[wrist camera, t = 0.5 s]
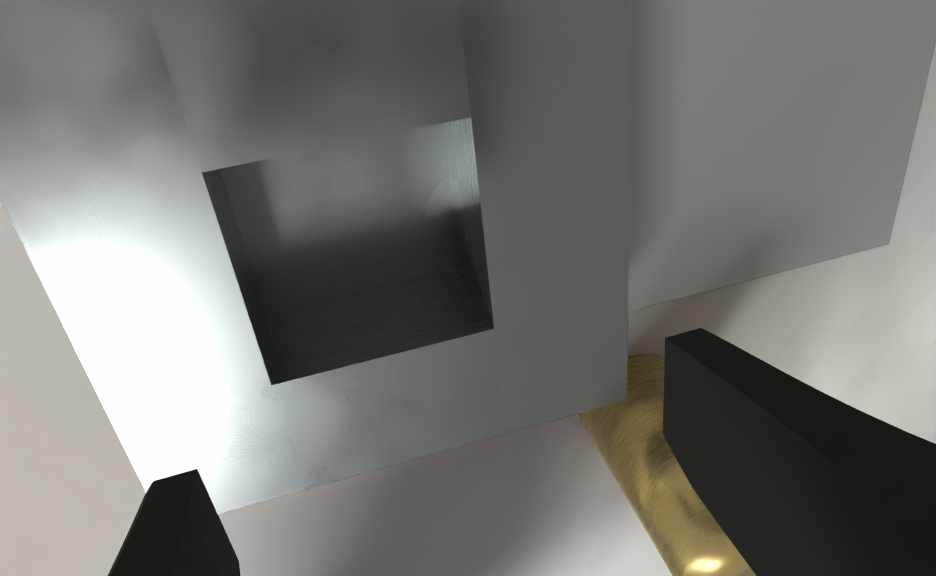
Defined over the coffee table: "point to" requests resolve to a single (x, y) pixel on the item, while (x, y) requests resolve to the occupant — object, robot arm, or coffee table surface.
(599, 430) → the gold metal cylinder
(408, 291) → the chuck block
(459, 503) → the coffee table surface
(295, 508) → the coffee table surface
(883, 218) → the rubber mat
